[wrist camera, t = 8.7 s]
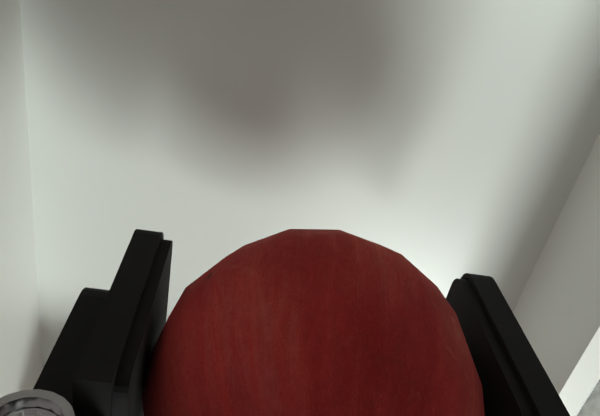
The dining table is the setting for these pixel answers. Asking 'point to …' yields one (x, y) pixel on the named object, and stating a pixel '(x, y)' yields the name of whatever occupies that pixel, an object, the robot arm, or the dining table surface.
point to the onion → (312, 336)
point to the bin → (303, 150)
